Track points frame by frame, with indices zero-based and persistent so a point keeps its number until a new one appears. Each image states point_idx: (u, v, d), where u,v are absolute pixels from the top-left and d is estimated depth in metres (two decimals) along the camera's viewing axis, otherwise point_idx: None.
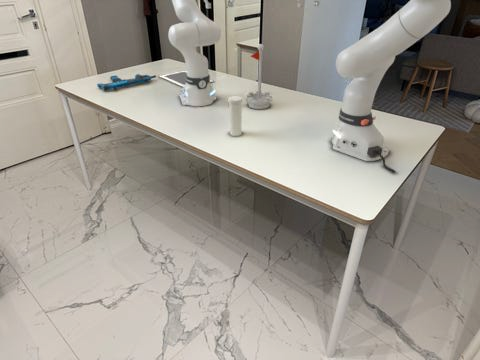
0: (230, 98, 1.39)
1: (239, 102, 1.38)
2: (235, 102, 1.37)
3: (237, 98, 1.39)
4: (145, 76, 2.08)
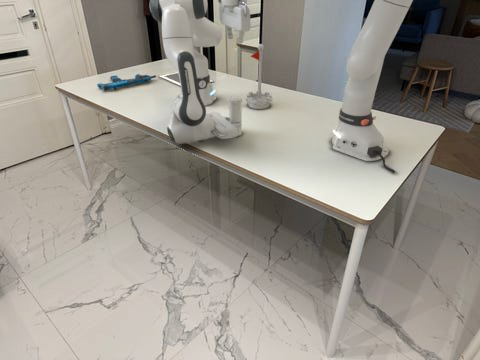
0: (230, 98, 1.39)
1: (239, 102, 1.38)
2: (235, 102, 1.37)
3: (237, 98, 1.39)
4: (145, 76, 2.08)
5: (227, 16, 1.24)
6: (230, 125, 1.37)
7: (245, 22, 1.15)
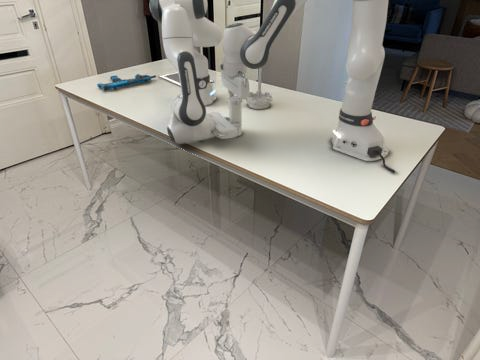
0: (230, 98, 1.39)
1: None
2: (235, 102, 1.37)
3: None
4: (145, 76, 2.08)
5: (228, 82, 1.37)
6: (230, 125, 1.37)
7: (245, 91, 1.28)
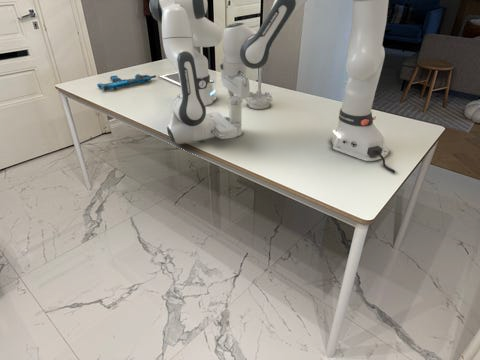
0: (234, 99, 1.37)
1: None
2: None
3: (236, 97, 1.39)
4: (145, 76, 2.08)
5: (228, 81, 1.37)
6: (230, 125, 1.37)
7: (245, 91, 1.28)
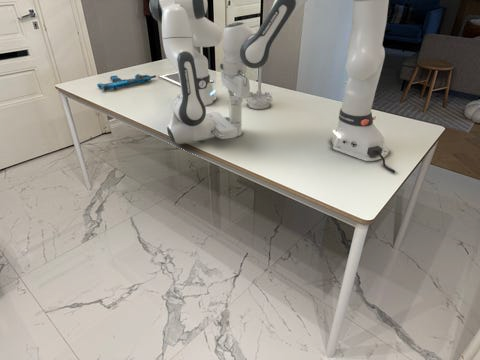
0: None
1: None
2: None
3: (233, 97, 1.39)
4: (145, 76, 2.08)
5: (228, 81, 1.37)
6: (230, 125, 1.37)
7: (245, 91, 1.28)
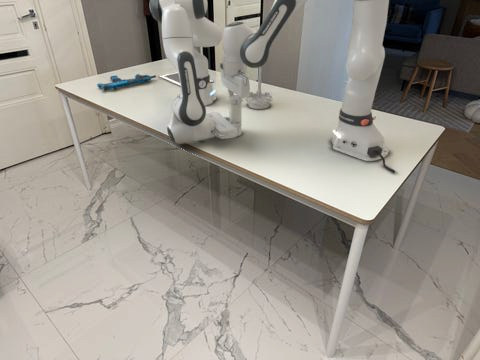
0: None
1: (228, 99, 1.39)
2: None
3: (233, 97, 1.38)
4: (145, 76, 2.08)
5: (228, 81, 1.37)
6: (230, 125, 1.37)
7: (245, 90, 1.28)
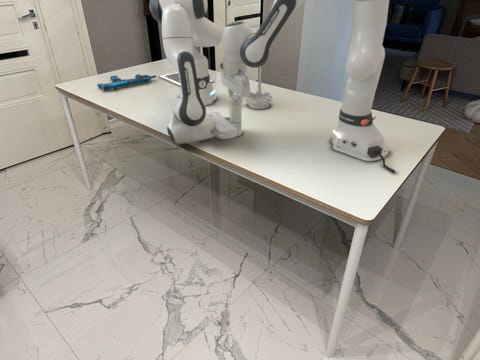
0: (231, 96, 1.40)
1: (234, 101, 1.37)
2: (230, 100, 1.37)
3: (236, 97, 1.38)
4: (145, 76, 2.08)
5: (228, 80, 1.36)
6: (230, 125, 1.37)
7: (245, 90, 1.28)
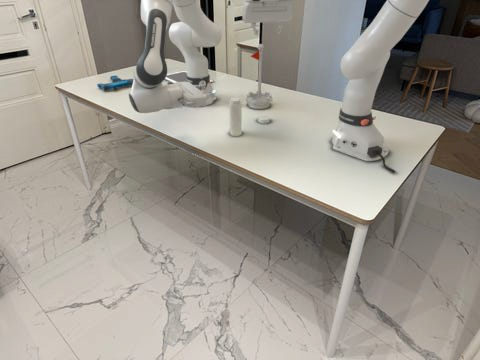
0: (266, 119, 1.57)
1: None
2: None
3: (263, 117, 1.59)
4: None
5: (263, 12, 1.32)
6: (199, 93, 1.24)
7: None
